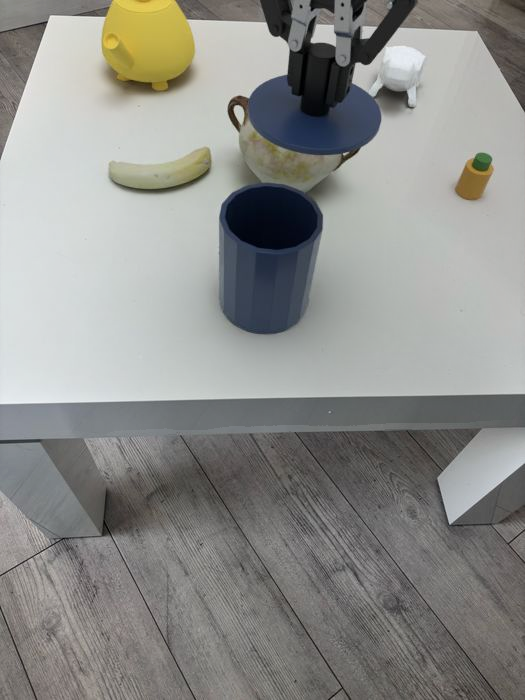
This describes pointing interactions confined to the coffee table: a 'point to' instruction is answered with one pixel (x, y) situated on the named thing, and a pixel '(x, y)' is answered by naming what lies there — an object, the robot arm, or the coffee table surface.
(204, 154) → the fruit
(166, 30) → the teapot
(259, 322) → the pot
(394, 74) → the white animal figurine
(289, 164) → the sugar bowl
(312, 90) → the lid
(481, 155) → the yellow and green cylinder
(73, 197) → the coffee table surface
